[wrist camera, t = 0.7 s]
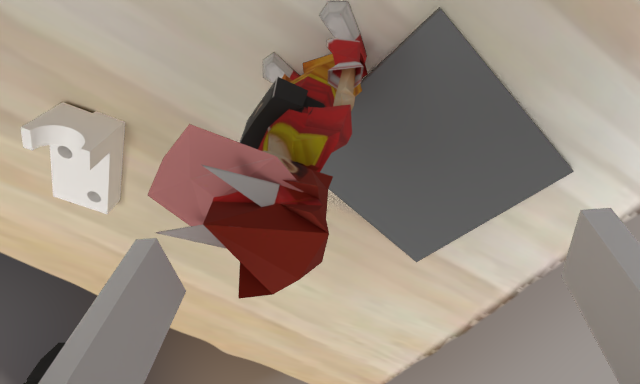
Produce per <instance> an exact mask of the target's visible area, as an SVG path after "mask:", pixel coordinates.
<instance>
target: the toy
mask: <svg viewBox="0 0 640 384" xmlns="http://www.w3.org/2000/svg"><path fill="white" fill-rule="evenodd" d="M319 16H320V17H321V19H322V21H323V22H324V24H325V25H326V26H327V28H328V29H329V31H330V32H331V33H332V35H333V36H334V38H331V39H328V40H327V44H326V46H327V48H328V49H329V50H330V51H331V53H332V54H330V55H327V56H324V57H320V58H317V59H314V60H311V61H308V62H305V63H303V71H304V74H303V75H301V76H300V75H299V74H297V73H296V72H295V71H294V70H293V69H292V68H291V67H290V66H288V65H287V64H286V63H285V62H284V61H283V60H282V59H281V58H280V57H279V56H278V55H277V54H276V53H275V52H273V53H272V54H270V55H269V56H268V57H266V58H265V59H263V78H265V79H266V80H268V81H270V82H271V83H273V84H272V86H271V87H270V89H269V90H268V91H267V93H266V94H265V96H264V97H263V99H262V100H261V101H260V103H259V104H258V106H257V107H256V109H255V110H254V111H253V113H252V114H251V116H250V117H249V119H248V120H247V123H246V126H245V129H244V132H243V135H242V137H241V140H240V143H239V142H236V141H233V140H231V139H228V138H225V137H223V136H220V135H217V134H215V133H212V132H209V131H207V130H204V129H201V128H199V127H196V126H193V125H190V124H189V125H188V127H187V128H186V129H185V131H184V132H183V133H182V134H181V136H180V137H179V138H178V140H177V141H176V142H175V144H174V145H173V146H172V147H171V149H170V150H169V151H168V153H167V154H166V155H165V157H164V158H163V160H162V162H161V165H160V167H159V169H158V172H157V174H156V176H155V179H154V181H153V183H152V186H151V188H150V190H149V193H148V196H149V197H151V198H152V199H153V200H155V201H156V202H158V203H159V204H160V205H162V206H163V207H165V208H166V209H167V210H169V211H170V212H172V213H173V214H174V215H176V216H177V217H179V218H180V219H181V220H183V221H184V222H186V223H187V224H188V225H190V226H191V227H185V228H179V229H173V230H167V231H161V232H156V233H158V234H163V235H167V236H172V237H177V238H181V239H186V240H190V241H195V242H199V243H204V244H209V245H213V246H218V247H222V248H227V249H228V250H229V251H230V252H231V253H232V254H233V255H234V256H235V257H236V258H237V259H238V260H239V261H240V278H239V298H246V297H255V296H263V295H272V294H274V293H276V292H278V291H280V290H282V289H283V288H285V287H287V286H289V285H290V284H292V283H294V282H296V281H298V280H299V279H301V278H302V277H303V276H305V275H306V274H307V273H308V272H310V271H311V270H312V269H314V268H315V267H316V266H318V265H319V264H320V263H321V262H322V260H323V256H324V252H325V247H326V243H327V239H328V235H329V232H328V227H327V222H326V211H327V197H328V189H329V186H330V183H331V181H332V178H333V176H330V175H327V174H324V173H320V171H321V170H322V168H323V166H324V165H325V163H326V161H327V160H328V158H329V156H330V155H331V153H332V152H334V151H336V150H338V149H339V148H341V147H343V146H345V145H346V144H347V143H348V141H349V139H350V137H351V135H352V120H351V111H352V109H353V106H354V102H355V96H357V95H358V94H359V93H360V92H361V91H362V88H361V84H360V83H361V80H362V77H364V76H366V75H367V71H366V67H365V61H366V57H367V55H366V51H365V48H364V45H363V41H362V38H361V35H360V32H359V29H358V26H357V24H356V21H355V18H354V16H353V13H352V10H351V8H350V5H349V2H348V1H328V3H327V4H326V6H325V7H324V9H323V10H322V12H321V13H320V15H319Z"/></svg>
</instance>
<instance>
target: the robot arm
mask: <svg viewBox="0 0 640 384" xmlns="http://www.w3.org/2000/svg"><path fill="white" fill-rule="evenodd" d="M561 277H562V279H563V280H564V282H565V284H566V286H567V288H568V290H569V291H570V293H571V295H572V297H573V299H574V301H575V303H576V304H577V306H578V308H579V310H580V312H581V314H582V316H583V317H584V319H585V321H586V323H587V325H588V327H589V328H590V330H591V332H592V334H593V336H594V338H595V340H596V341H597V343H598V345H599V347H600V349H601V351H602V353H603V354H604V356H605V358H606V360H607V362H608V364H609V365H610V367H611V369H612V371H613V373H614V374H615V376H616V378H617V380H618V382H619V384H640V243H639V242H638V240H637V239H636V238H635V237H634V236H633V234H632V233H631V232H630V231H629V230H628V228H627V227H626V226H625V225H624V223H623V222H622V221H621V220H620V219H619V217H618V216H617V215H616V214H615V213H614V211H613V210H612V209H611V208H603V209H588V210H580V214H579V217H578V220H577V224H576V227H575V230H574V234H573V237H572V241H571V244H570V247H569V251H568V254H567V257H566V261H565V264H564V268H563V271H562V274H561ZM185 292H186V290H185V288H184V286H183V285H182V283H181V281H180V279H179V278H178V276H177V274H176V272H175V270H174V269H173V267H172V265H171V263H170V262H169V260H168V258H167V256H166V254H165V253H164V251H163V249H162V247H161V245H160V244H159V242H158V240H157V238H151V239H136V240H135V242H134V243H133V245H132V246H131V248H130V249H129V251H128V252H127V254H126V255H125V256H124V258H123V259H122V261H121V262H120V264H119V265H118V267H117V268H116V270H115V271H114V273H113V274H112V276H111V277H110V279H109V280H108V281H107V283H106V284H105V286H104V287H103V289H102V290H101V292H100V293H99V295H98V296H97V298H96V299H95V301H94V302H93V304H92V305H91V307H90V308H89V310H88V311H87V312H86V314H85V315H84V317H83V318H82V320H81V321H80V323H79V324H78V326H77V327H76V329H75V330H74V332H73V333H72V334H71V336H70V337H69V339H68V340H67V342H66V343H58V344H57V345H56V346H55V347H54V348H53V349H52V350H51V351H49V352H48V353H47V354H46V355H45V356H44V357H43V358H42V359H41V360H40V362H39V363H38V364H37V366H36V367H35V368H34V370H33V371H32V373H31V374H30V375H29V377H28V378H27V382H26V383H24V384H144V382H145V380H146V377H147V375H148V373H149V371H150V369H151V367H152V364H153V362H154V360H155V358H156V356H157V353H158V351H159V349H160V347H161V345H162V343H163V340H164V338H165V336H166V334H167V332H168V329H169V327H170V325H171V323H172V321H173V319H174V316H175V314H176V312H177V310H178V308H179V305H180V303H181V301H182V299H183V297H184V295H185Z"/></svg>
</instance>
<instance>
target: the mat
mask: <svg viewBox="0 0 640 384" xmlns="http://www.w3.org/2000/svg"><path fill="white" fill-rule="evenodd" d="M360 84H361V88H362V91H361V92H360V93H359V94H358V95H357V96H355V102H354V106H353V109H352V111H351V120H352V135H351V137H350V139H349V141H348V143H347V144H346V145H345V146H343V147H341V148H339V149H338V150H336V151H334V152H332V153H331V155H330V156H329V158H328V160H327V161H326V163H325V165H324V166H323V168H322V170H321V171H320V173H324V174H327V175H330V176H333V178H332V181H331V183H330V186H329V190H331V191H332V192H333V193H334V194H335V195H337V196H338V197H339V198H340V199H341V200H343V201H344V202H345V203H346V204H347V205H349V206H350V207H351V208H352V209H353V210H355V211H356V212H357V213H358V214H359V215H361V216H362V217H363V218H364V219H365V220H367V221H368V222H369V223H370V224H371V225H373V226H374V227H375V228H376V229H377V230H379V231H380V232H381V233H382V234H383V235H385V236H386V237H387V238H388V239H389V240H391V241H392V242H393V243H394V244H395V245H397V246H398V247H399V248H400V249H401V250H403V251H404V252H405V253H406V254H407V255H409V256H410V257H411V258H412V259H413V260H415V261H416V262H418V261H419V260H421V259H423V258H425V257H426V256H428V255H430V254H431V253H433V252H435V251H437V250H438V249H440V248H442V247H444V246H445V245H447V244H449V243H451V242H452V241H454V240H456V239H458V238H459V237H461V236H463V235H464V234H466V233H468V232H470V231H471V230H473V229H475V228H477V227H478V226H480V225H482V224H484V223H485V222H487V221H489V220H490V219H492V218H494V217H496V216H497V215H499V214H501V213H503V212H504V211H506V210H508V209H510V208H511V207H513V206H515V205H517V204H518V203H520V202H522V201H523V200H525V199H527V198H529V197H530V196H532V195H534V194H536V193H537V192H539V191H541V190H543V189H544V188H546V187H548V186H549V185H551V184H553V183H555V182H556V181H558V180H560V179H562V178H563V177H565V176H567V175H569V174H570V173H572V172H574V171H573V170H572V169H571V168H570V166H569V165H568V164H567V163H566V161H565V160H564V159H563V158H562V157H561V155H560V154H559V153H558V152H557V150H556V149H555V148H554V147H553V146H552V144H551V143H550V142H549V141H548V139H547V138H546V137H545V136H544V135H543V133H542V132H541V131H540V130H539V128H538V127H537V126H536V125H535V124H534V122H533V121H532V120H531V119H530V117H529V116H528V115H527V114H526V113H525V111H524V110H523V109H522V108H521V106H520V105H519V104H518V103H517V102H516V100H515V99H514V98H513V97H512V95H511V94H510V93H509V92H508V91H507V89H506V88H505V87H504V86H503V84H502V83H501V82H500V81H499V80H498V78H497V77H496V76H495V75H494V73H493V72H492V71H491V70H490V69H489V67H488V66H487V65H486V64H485V62H484V61H483V60H482V59H481V57H480V56H479V55H478V54H477V53H476V51H475V50H474V49H473V48H472V46H471V45H470V44H469V43H468V42H467V40H466V39H465V38H464V37H463V35H462V34H461V33H460V32H459V31H458V29H457V28H456V27H455V26H454V24H453V23H452V22H451V21H450V20H449V18H448V17H447V16H446V15H445V13H444V12H443V11H442V10H441V9H440V7H439V8H438V9H437V10H436V11H435V12H434V13H433V14H432V15H431V16H430V17H429V18H428V19H427V20H426V21H424V22H423V23H422V24H421V25H420V26H419V27H418V28H417V29H416V30H415V31H414V32H413V33H412V34H411V35H410V36H409V37H408V38H406V39H405V40H404V41H403V42H402V43H401V44H400V45H399V46H398V47H397V48H396V49H395V50H394V51H393V52H392V53H391V54H390V55H389V56H387V57H386V58H385V59H384V60H383V61H382V62H381V63H380V64H379V65H378V66H377V67H376V68H375V69H374V70H373V71H372V72H371V73H370V74H368V75H367V76H366V77H365V78H364V79H363V80H362V81H361V83H360Z"/></svg>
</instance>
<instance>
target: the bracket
mask: <svg viewBox="0 0 640 384" xmlns="http://www.w3.org/2000/svg"><path fill="white" fill-rule="evenodd" d="M21 133H22V142H23V148H26V149H29V150H34V149H36V148H38V147H41V146H46V145H50V158H51V172H52V186H53V196H54V197H57V198H60V199H63V200H66V201H69V202H72V203H75V204H78V205H81V206H84V207H87V208H90V209H93V210H96V211H99V212H102V213H105V214H108V213H109V212H110V211H111V210H112V208H113V207H114V206H115V205H116V204H117V203H118V202H119V201H120V195H121V180H122V165H123V150H124V136H125V121H122V120H119V119H117V118H114V117H111V116H108V115H106V114H103V113H100V112H98V111H95V112H94V113H91V112H88V111H85V110H83V109H80V108H77V107H75V106H72V105H69V104H66V103H64V102H62V103H60V104H58V105H57V106H55V107H53V108H52V109H50V110H48V111H47V112H45V113H43V114H42V115H40V116H38V117H37V118H35V119H33V120H32V121H30V122H28V123H27V124H25V125H23V126H22V127H21Z"/></svg>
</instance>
